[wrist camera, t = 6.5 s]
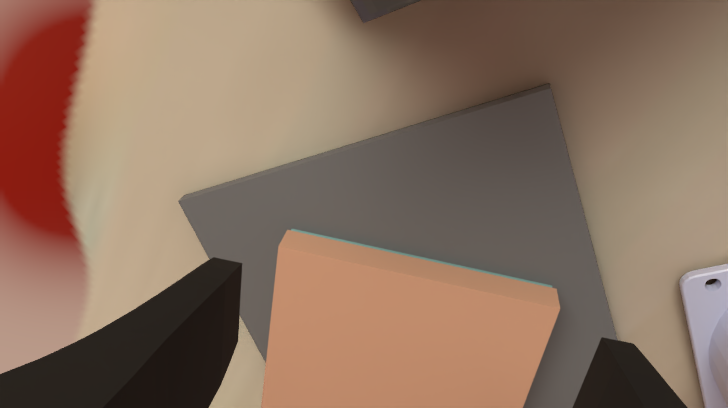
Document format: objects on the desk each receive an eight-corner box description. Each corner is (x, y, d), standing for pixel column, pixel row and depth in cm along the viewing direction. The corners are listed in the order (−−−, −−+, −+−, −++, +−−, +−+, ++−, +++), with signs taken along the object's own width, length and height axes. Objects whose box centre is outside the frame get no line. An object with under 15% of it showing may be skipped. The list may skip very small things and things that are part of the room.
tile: (278, 246, 22) (261, 408, 26) (560, 308, 22) (500, 465, 25) (289, 225, 24) (271, 382, 27) (555, 284, 23) (499, 436, 27)
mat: (549, 83, 20) (550, 87, 20) (634, 405, 25) (637, 414, 25) (183, 195, 24) (178, 201, 24) (321, 452, 30) (319, 461, 29)
